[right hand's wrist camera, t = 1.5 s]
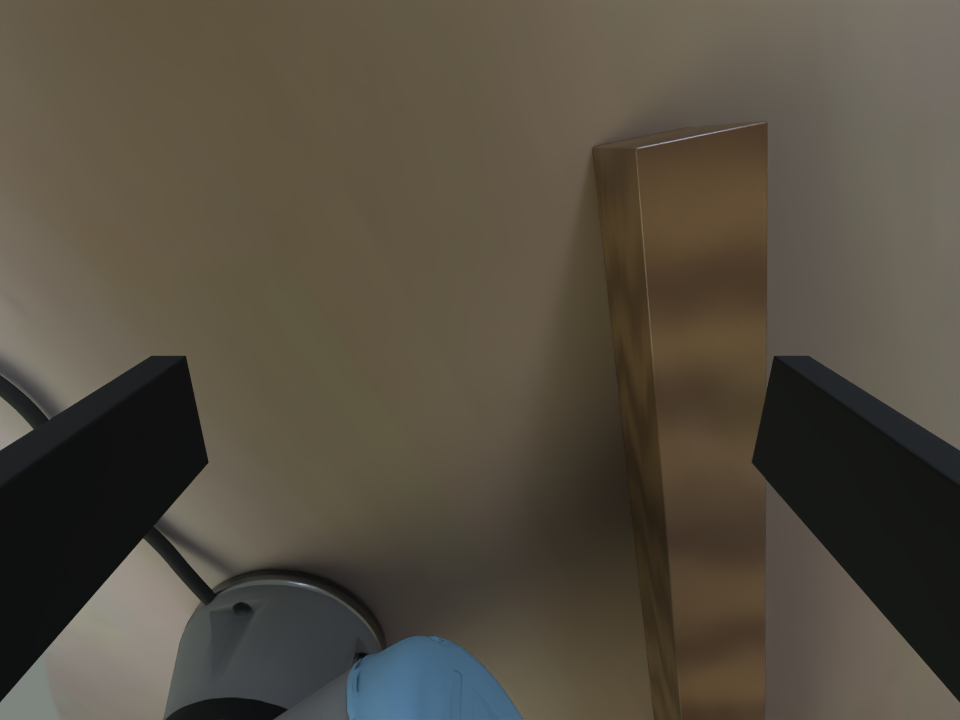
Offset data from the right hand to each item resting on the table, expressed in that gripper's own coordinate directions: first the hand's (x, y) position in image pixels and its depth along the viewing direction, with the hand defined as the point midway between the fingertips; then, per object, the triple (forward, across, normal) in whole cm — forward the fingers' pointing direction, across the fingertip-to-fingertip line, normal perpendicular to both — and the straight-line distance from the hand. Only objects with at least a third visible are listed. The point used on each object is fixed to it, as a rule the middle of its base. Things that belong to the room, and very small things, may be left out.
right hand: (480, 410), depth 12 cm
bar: (+20, +15, -25) cm, 36 cm away
